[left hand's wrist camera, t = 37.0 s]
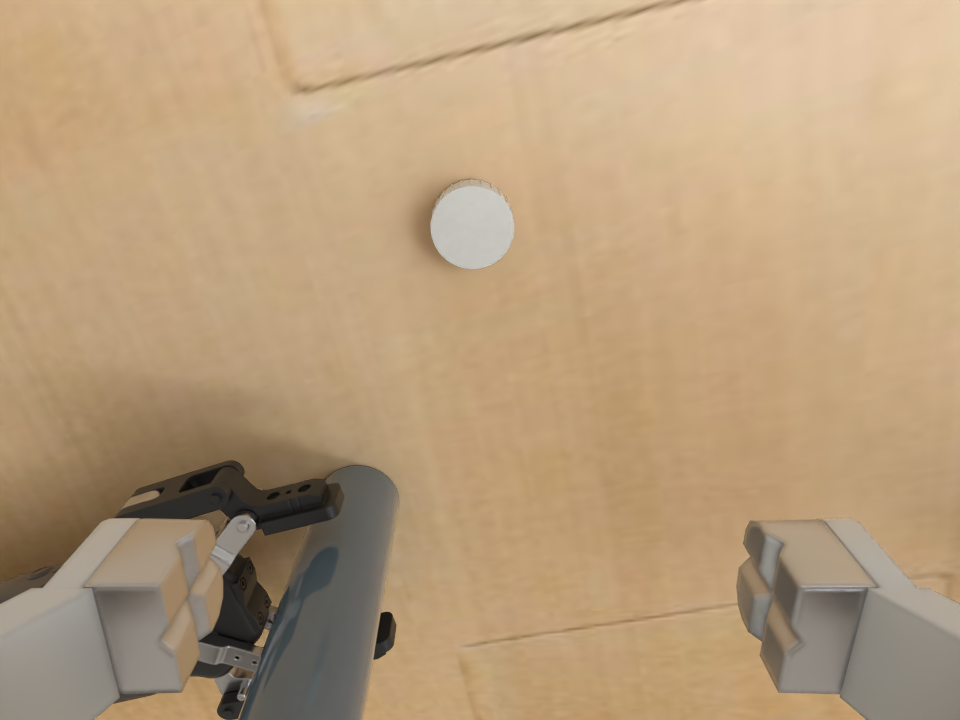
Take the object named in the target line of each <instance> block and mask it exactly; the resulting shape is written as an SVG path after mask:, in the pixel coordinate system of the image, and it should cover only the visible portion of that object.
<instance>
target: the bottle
mask: <svg viewBox="0 0 960 720" xmlns="http://www.w3.org/2000/svg"><path fill="white" fill-rule="evenodd" d="M326 483H327V484H331V483H339V484H340V486H341V489H342V491H343V494H344V496H345V498H344V501H343V504H342V508H341V511H340V513H339V515H338V516H337V517H335V518H333V519H331V520H328V521H324V522H320V523H316V524H311V525H308V527H307V530H306V532H305V535H304V538H303V541H302V543H301V546H300V549H299V552H298V554H297V557H296V560H295V563H294V566H293V568H292V571H291V574H290V577H289V579H288V582H287V585H286V588H285V590H284V593H283V596H282V599H281V601H280V604H279V607H278V610H277V612H276V615H275V618H274V621H273V624H272V626H271V629H270V632H269V635H268V637H267V640H266V643H265V646H264V648H263V651H262V654H261V657H260V659H259V662H258V665H257V668H256V670H255V673H254V676H253V679H252V682H251V684H250V687H249V690H248V693H247V695H246V698H245V701H244V704H243V706H242V709H241V712H240V715H239V717H238V720H363V719H364V713H365V707H366V701H367V695H368V689H369V683H370V677H371V671H372V665H373V659H374V653H375V646H376V640H377V634H378V628H379V622H380V616H381V610H382V604H383V598H384V592H385V586H386V580H387V574H388V568H389V562H390V556H391V550H392V544H393V538H394V532H395V526H396V520H397V514H398V508H399V495H398V491H397V489H396V487H395V485H394V484H393V482H392V481H391V480H390V479H389V478H388V477H387V476H386V475H385V474H383V473H382V472H380V471H378V470H376V469H374V468H371V467H367V466H348V467H344V468H342V469H339V470H337V471H335V472H334V473H333V474H331V475H330V476H329V477H328V478H327V479H326Z"/></svg>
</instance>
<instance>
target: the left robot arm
mask: <svg viewBox="0 0 960 720" xmlns="http://www.w3.org/2000/svg"><path fill="white" fill-rule="evenodd" d="M216 544H217V542H216V537H215V532H214V527H213V525H212V524H211V523H210V522H209V521H208V520H196V519H149V518H143V519H139V518H110V519H107V520H104V521H102V522H101V523H100V524H99V525H98V526H97V527H96V528H95V529H94V530H93V532H92V533H91V534H90V535H89V536H88V537H87V538H86V540H85V541H84V542H83V543H82V544H81V545H80V546H79V547H78V549H77V550H76V551H75V552H74V553H73V554H72V555H71V556H70V558H69V559H68V560H67V561H66V562H65V563H64V564H63V566H62V567H61V568H60V569H59V570H58V571H57V572H56V573H55V575H54V576H53V577H52V578H51V579H50V580H49V581H48V582H47V584H46V585H45V586H44V587H43V588H31V589H29V590H27V591H25V592H23V593H21V594H19V595H17V596H15V597H13V598H11V599H9V600H7V601H5V602H3V603H1V604H0V720H94V719H95V718H96V717H97V716H99V715H100V714H101V713H102V712H103V711H105V710H106V709H107V708H108V707H109V706H111V705H112V704H113V703H114V702H115V701H116V700H118V699H119V698H120V695H119V694H145V693H180V692H182V691H183V689H184V687H185V685H186V683H187V681H188V679H189V677H190V675H191V673H192V671H193V669H194V667H195V665H196V663H197V661H198V659H199V657H200V651H199V646H198V641H200V640H201V639H202V638H204V637H205V636H207V635H208V634H209V633H211V632H212V630H213V628H214V626H215V624H216V622H217V620H218V617H219V614H220V609H221V604H222V600H223V577H222V571H221V567H220V566H219V565H218V564H217V563H216V562H215V561H214V560H213V559H212V558H211V557H210V555H211V553H212V551H213V549H214V548H215V546H216ZM743 544H744V546H745V548H746V549H747V551H748V553H749V555H750V557H749V558H748V559H747V560H746V561H745V562H744V563H743V564H742V565H741V566H740V567H739V571H738V579H737V586H736V587H737V599H738V606H739V610H740V613H741V617H742V620H743V622H744V624H745V626H746V628H747V630H748V632H749V633H751V634H752V635H753V636H755V637H756V638H758V639H759V640H760V641H762V646H761V651H760V657H761V659H762V661H763V663H764V665H765V667H766V669H767V671H768V673H769V675H770V677H771V679H772V681H773V683H774V685H775V687H776V689H777V690H778V692H779V693H814V694H841V695H840V698H842V699H843V700H844V701H845V702H846V703H847V704H849V705H850V706H851V707H852V708H853V709H855V710H856V711H857V712H858V713H859V714H860V715H862V716H863V717H864V718H865V719H866V720H960V604H959V603H957V602H955V601H953V600H951V599H949V598H947V597H945V596H943V595H941V594H939V593H937V592H935V591H933V590H931V589H929V588H917V587H916V586H915V585H914V584H913V582H912V581H911V580H910V579H909V578H908V577H907V576H906V575H905V573H904V572H903V571H902V570H901V569H900V568H899V567H898V566H897V564H896V563H895V562H894V561H893V560H892V559H891V558H890V556H889V555H888V554H887V553H886V552H885V551H884V550H883V549H882V547H881V546H880V545H879V544H878V543H877V542H876V541H875V540H874V538H873V537H872V536H871V535H870V534H869V533H868V532H867V530H866V529H865V528H864V527H863V526H862V525H861V524H860V523H859V522H858V521H856V520H854V519H852V518H829V519H817V520H757V521H750V522H749V524H748V526H747V528H746V531H745V536H744V541H743Z"/></svg>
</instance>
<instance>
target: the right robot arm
mask: <svg viewBox="0 0 960 720" xmlns="http://www.w3.org/2000/svg"><path fill="white" fill-rule="evenodd" d="M244 473H245V472H244V468H243V466H242V465H241V464H240V463H238V462H236V461H225V462H222V463H219V464H216V465H213V466H209V467H206V468H203V469H200V470H197V471H193V472H190V473H187V474H184V475H181V476H177V477H174V478H171V479H168V480H165V481H161V482H158V483H155V484H152V485H149V486H145V487H142V488H139V489H138V490H136V492H135V493H134V494H133V495H132V497H131V498H130V499H129V500H128V501H127V502H126V503H125V505H124V506H123V507H122V508H121V510H120V511H119V513H118V514H117V515H116V516H115V518H139V519H143V518H149V519H190V518H193V517H196V516H199V515H203V514H206V513H209V512H213V511H216V510H219V509H221V510H222V511H223V512H224V513H225V514H226V515H227V518H226V519H225V520H224V522H223V523H222V524H221V526H220V527H219V528H218V530H217V531H216V532H215V537H216V542H217V544H216V546H215V548H214V549H213V551H212V553H211V555H210V557H211V558H212V559H213V560H214V561H215V562H216V563H217V564H218V565H219V566H220V567H221V571H222V577H223V600H222V604H221V609H220V614H219V617H218V620H217V622H216V624H215V626H214V628H213V630H212V632H211V633H209V634H208V635H207V636H205V637H204V638H202V639H201V640H200V641H198V646H199V651H200V657H199V659H198V661H197V663H196V665H195V667H194V669H193V671H192V673H191V675H190V676H199V677H206V678H214V679H215V681H216V683H217V686H218V688H219V690H220V692H221V694H222V699H221V701H220V704H219V706H218V709H217V713H218V715H219V716H220V717H221V718H223V719H226V720H234V719H238V717H239V715H240V712H241V709H242V706H243V704H244V701H245V698H246V695H247V693H248V690H249V687H250V684H251V682H252V679H253V676H254V673H255V670H256V668H257V665H258V662H259V659H260V657H261V654H262V651H263V648H264V647H259V646H255V645H254V644H255V643H256V641H257V640H258V639H259V638H260V636H261V635H262V632H263V630H264V628H265V629H268V630H270V629H271V626H272V624H273V621H274V618H275V615H276V612H277V610H278V607H275V606H271V600H270V598H269V596H268V594H267V592H266V591H265V589H264V588H263V587H262V586H261V585H260V584H259V583H258V581H257V578H256V572H255V567H254V565H253V563H252V561H251V559H250V557H247V558H244V557H242V556H241V555H240V554H238V553H239V552H240V550H241V549H242V548H243V547H244V545H245V544H246V543H247V541H248V540H249V539H250V538H251V536H252V535H253V534H254V532H255V531H256V530H257V529H262V530H263V532H264V535H269V534H274V533H278V532H282V531H286V530H290V529H295V528H299V527H303V526H307V525H311V524H316V523H320V522H324V521H328V520H331V519H333V518H335V517H337V516H338V515H339V513H340V511H341V508H342V504H343V501H344V498H345V496H344V494H343V491H342V489H341V486H340V484H339V483H331V484H327V483H326V480H323V479H311V480H307V481H304V482H299V483H296V484H291V485H286V486H282V487H278V488H274V489H270V490H264V489H262V488H256V487H254V486H253V485H252V484H251V483H250V482H249V481H248V480H247V479H246V478H245V477H244ZM62 566H63V564H61V565H56V566H47V567H44V568H41V569H39V570H36V571H32V572H29V573H25V574H22V575H19V576H17V577H14V578H11V579H9V580H6V581H4V582H2V583H0V604H1V603H3V602H5V601H7V600H9V599H11V598H13V597H15V596H17V595H19V594H21V593H23V592H25V591H27V590H29V589H31V588H43V587H44V586H45V585H46V584H47V582H48V581H49V580H50V579H51V578H52V577H53V576H54V575H55V573H56V572H57V571H58V570H59V569H60V568H61V567H62ZM395 632H396V623H395V620H394V618H393V615H392V614H391V613H390V612H383V613H381V616H380V622H379V628H378V634H377V640H376V646H375V653H374V659H373V660H375V659H378V658H380V657H382V656H383V655H385V654H386V652H387V651H389V650H390V649H391V648H392V647H393V645H394V639H395ZM154 694H157V693H145V694H119V695H120V698H119V699H118V700H116V701H115V702H114V703H119V702H123V701H128V700H132V699H137V698H141V697H146V696H150V695H154ZM114 703H113V704H114Z"/></svg>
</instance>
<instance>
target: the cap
mask: <svg viewBox="0 0 960 720" xmlns="http://www.w3.org/2000/svg"><path fill="white" fill-rule="evenodd" d="M512 214H513V212H512V209H511V206H510V207H509V203H508V200H507V198H506V197H504V195H503V194H502V193H501V190H500V189H499V190H498V189H497V188H496V187H494V186H493V185H492V184H489V183H487V182H484V181H483V180H481V181H480V180H472V179H471V180H464V181H462V180H460V182H457V183H455V184H451V186H450V187H448V188H447V189H446V190H443V193H442V194H441V196H440V197H439V198H437V200H436V204H435V208H434V207H433V210H432V213H431V215H432V218H431V221H430V226H431V227H430V228H431V236H432V240H433V243H434V245H435V247H436V249H437V251H438V252H439V253H440V255H441V256H442V257H443V258H444V259H445V260H447V261H448V262H450V263H451V264H453V265H455V266H457V267H460V268H464V269H480V268H484V267H487V266H490V265H492V264H494V263H495V262H497V261H498V260H499V259H500V258H501V257H502V256H503V255H504V254H505V253H506V251H507V250H508V248H509V247H510V245H511V242H512V239H513V235H514V224H515V222H514V219H513V216H512Z"/></svg>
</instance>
